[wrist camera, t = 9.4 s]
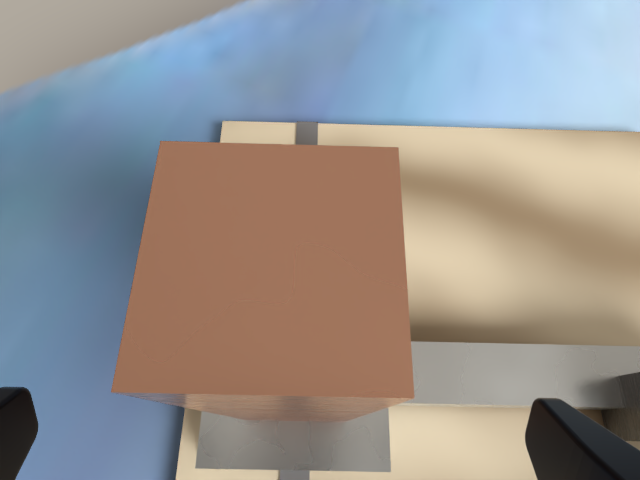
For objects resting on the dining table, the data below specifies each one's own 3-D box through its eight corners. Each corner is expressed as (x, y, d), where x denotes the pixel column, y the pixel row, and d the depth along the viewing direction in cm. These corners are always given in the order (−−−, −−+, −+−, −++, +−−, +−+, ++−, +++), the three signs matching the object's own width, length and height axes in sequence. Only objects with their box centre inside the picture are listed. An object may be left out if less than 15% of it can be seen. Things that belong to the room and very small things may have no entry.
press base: (873, 806, 13) (1297, 1087, 7) (143, 798, 13) (12, 1082, 7) (649, 145, 22) (761, 49, 16) (226, 134, 22) (197, 33, 16)
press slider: (743, 475, 15) (1835, 582, 4) (205, 465, 15) (-74, 550, 4) (687, 303, 17) (1292, 93, 7) (224, 292, 17) (80, 59, 6)
